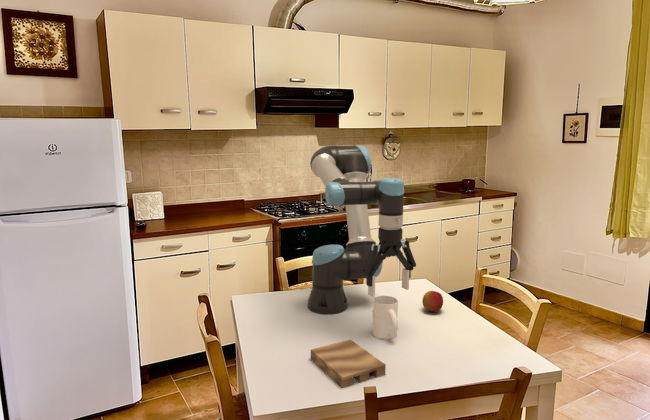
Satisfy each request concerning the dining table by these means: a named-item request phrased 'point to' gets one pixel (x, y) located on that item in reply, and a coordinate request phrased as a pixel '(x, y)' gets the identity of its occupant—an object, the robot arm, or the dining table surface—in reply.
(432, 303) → the apple
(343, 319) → the dining table surface
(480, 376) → the dining table surface
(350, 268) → the robot arm
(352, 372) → the wooden pallet
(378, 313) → the mug
